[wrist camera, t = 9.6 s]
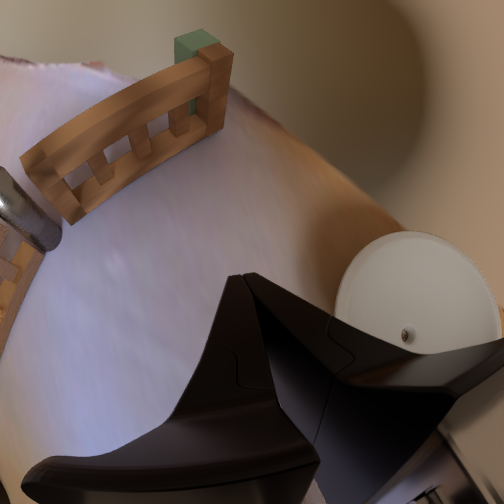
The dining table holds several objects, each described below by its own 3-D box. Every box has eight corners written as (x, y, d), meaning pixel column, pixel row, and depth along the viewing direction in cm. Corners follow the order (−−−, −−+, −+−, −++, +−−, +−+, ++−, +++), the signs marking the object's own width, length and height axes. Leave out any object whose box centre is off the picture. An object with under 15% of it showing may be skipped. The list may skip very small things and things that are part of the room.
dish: (474, 291, 26) (508, 280, 21) (444, 428, 21) (481, 435, 16) (336, 220, 25) (363, 193, 20) (279, 391, 20) (301, 402, 16)
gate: (71, 226, 21) (22, 170, 13) (63, 210, 21) (15, 151, 13) (223, 128, 26) (233, 53, 18) (211, 116, 26) (218, 42, 18)
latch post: (190, 130, 26) (192, 51, 17) (176, 115, 26) (174, 38, 18) (212, 119, 26) (220, 41, 18) (197, 104, 27) (201, 28, 18)
